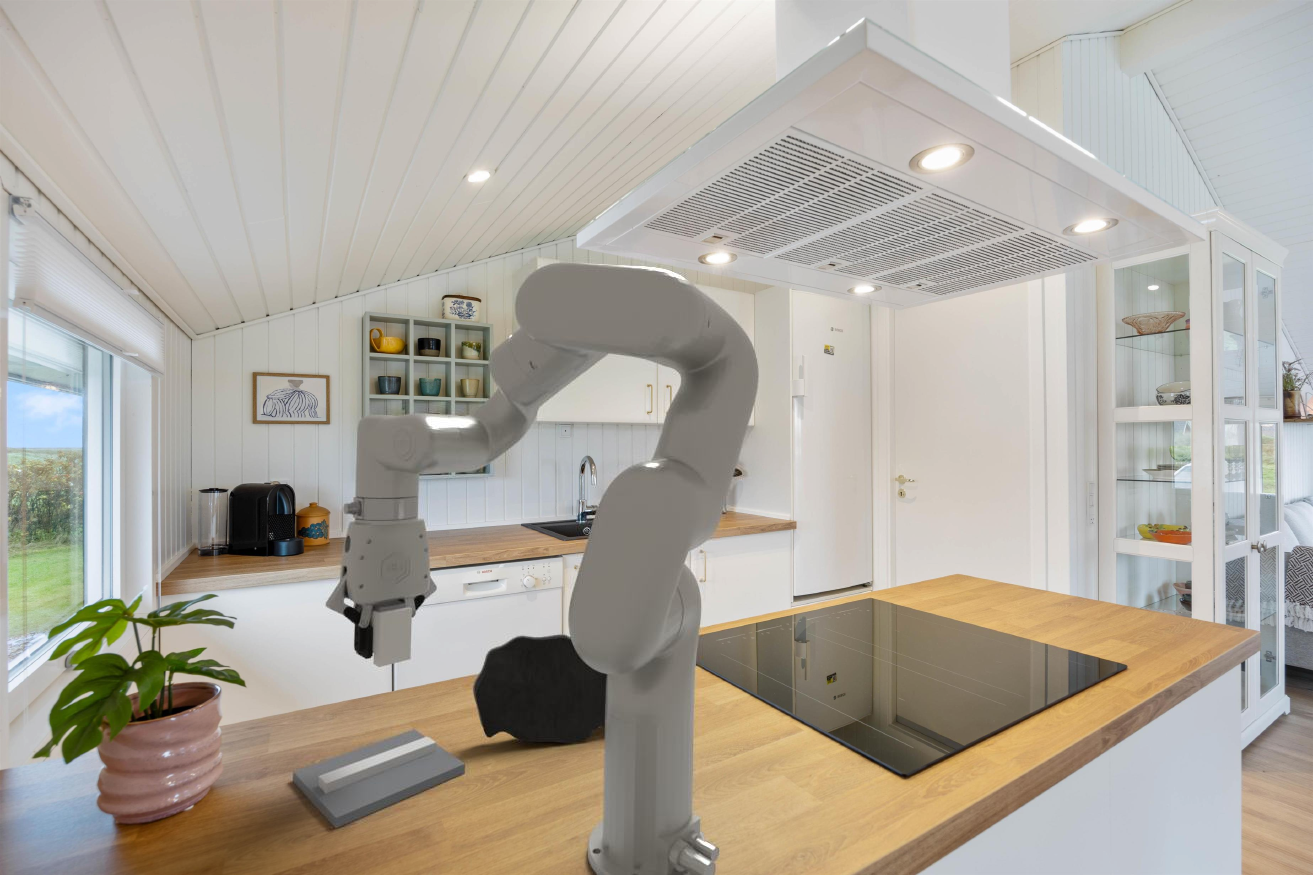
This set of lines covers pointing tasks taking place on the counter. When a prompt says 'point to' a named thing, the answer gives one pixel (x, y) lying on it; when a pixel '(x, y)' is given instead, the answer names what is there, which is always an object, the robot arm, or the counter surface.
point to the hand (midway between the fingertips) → (383, 649)
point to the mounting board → (376, 776)
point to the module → (391, 632)
